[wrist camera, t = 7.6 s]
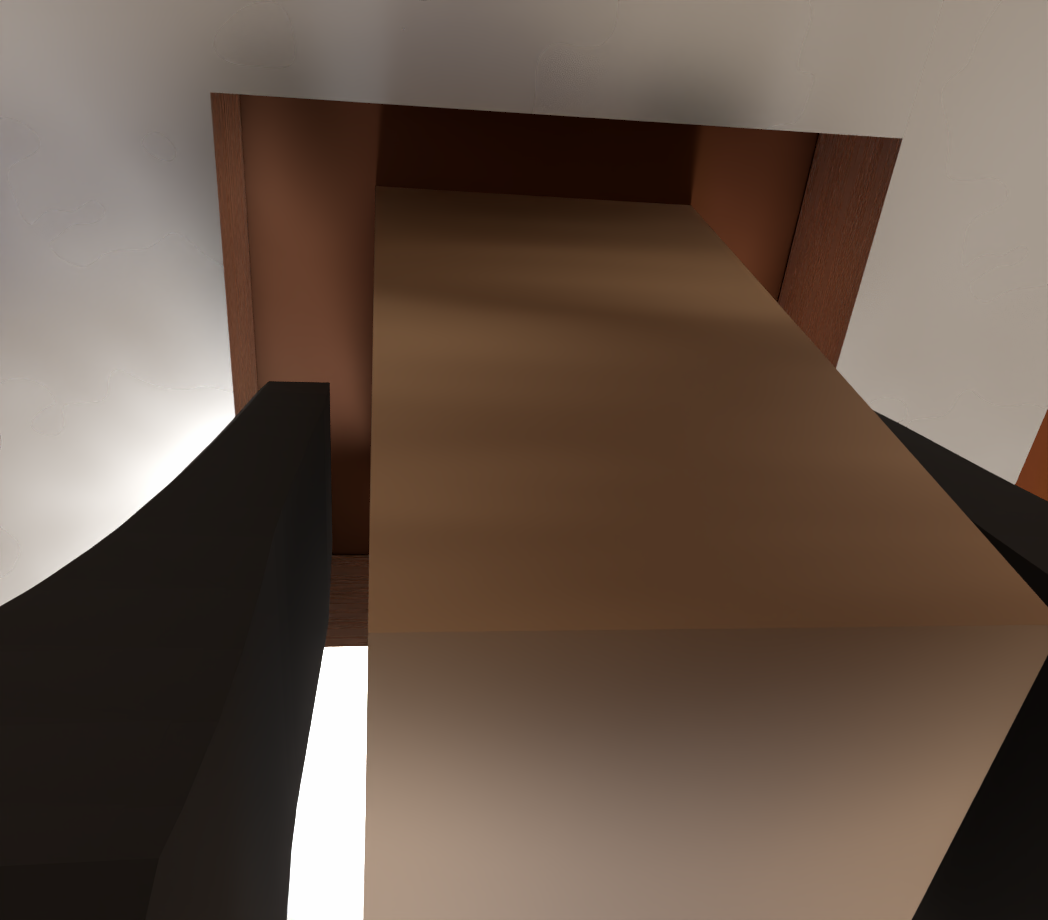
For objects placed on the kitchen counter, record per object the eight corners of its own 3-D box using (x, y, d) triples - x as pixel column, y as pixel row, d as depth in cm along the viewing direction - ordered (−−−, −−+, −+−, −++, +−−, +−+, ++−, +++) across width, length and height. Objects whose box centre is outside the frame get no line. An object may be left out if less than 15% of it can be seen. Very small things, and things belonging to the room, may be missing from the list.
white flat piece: (114, 843, 17) (84, 956, 15) (-262, -958, 7) (-488, -1241, 5) (796, 810, 19) (838, 906, 17) (1316, -621, 9) (1549, -738, 7)
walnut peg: (370, 463, 14) (361, 1044, 7) (375, 185, 12) (367, 632, 5) (640, 467, 14) (867, 1005, 8) (690, 205, 12) (1062, 626, 6)
